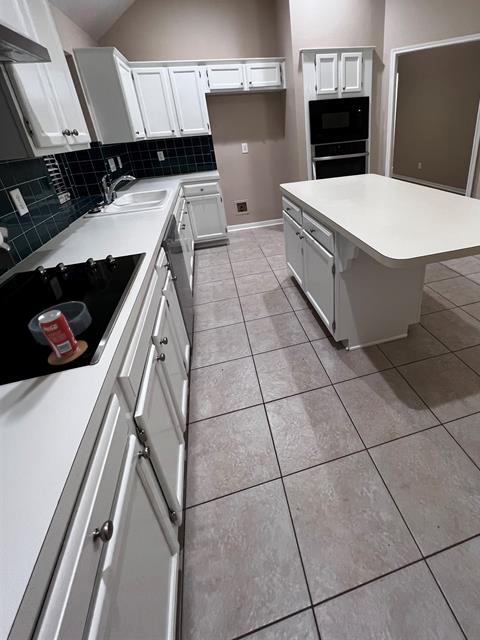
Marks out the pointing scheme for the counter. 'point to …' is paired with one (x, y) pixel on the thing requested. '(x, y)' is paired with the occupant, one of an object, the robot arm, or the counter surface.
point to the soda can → (58, 333)
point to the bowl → (73, 314)
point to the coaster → (59, 361)
